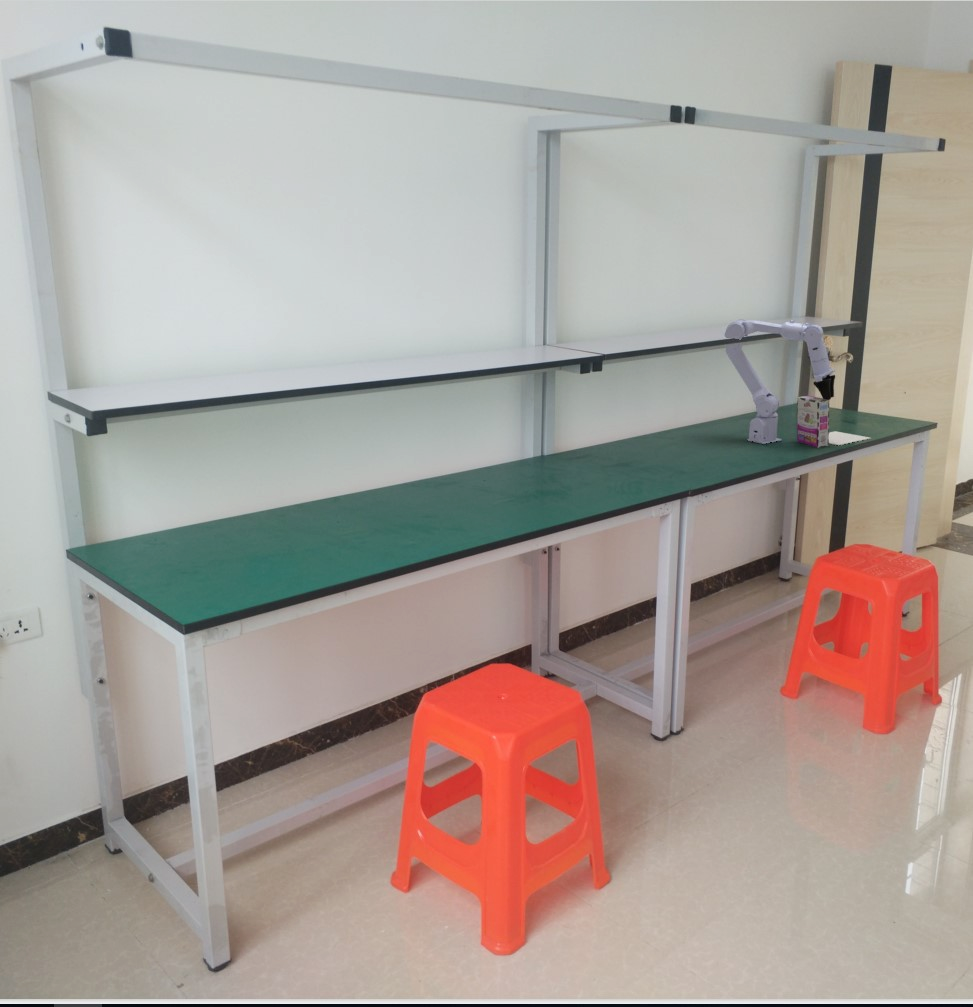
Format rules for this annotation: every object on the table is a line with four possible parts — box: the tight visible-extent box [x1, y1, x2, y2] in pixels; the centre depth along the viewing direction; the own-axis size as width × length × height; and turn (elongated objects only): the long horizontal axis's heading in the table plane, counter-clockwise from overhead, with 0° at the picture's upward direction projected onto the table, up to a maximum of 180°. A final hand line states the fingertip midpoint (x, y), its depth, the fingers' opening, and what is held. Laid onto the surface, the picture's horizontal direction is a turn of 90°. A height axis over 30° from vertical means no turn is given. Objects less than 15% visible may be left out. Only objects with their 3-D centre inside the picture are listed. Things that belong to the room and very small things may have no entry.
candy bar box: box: [796, 395, 830, 449], centre depth 334 cm, size 11×5×16 cm, turn 21°
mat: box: [829, 430, 872, 447], centre depth 343 cm, size 18×15×1 cm
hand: (829, 398), depth 330 cm, fingers open, 4 cm apart
